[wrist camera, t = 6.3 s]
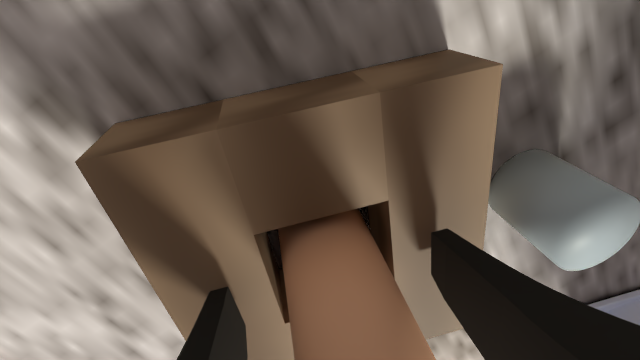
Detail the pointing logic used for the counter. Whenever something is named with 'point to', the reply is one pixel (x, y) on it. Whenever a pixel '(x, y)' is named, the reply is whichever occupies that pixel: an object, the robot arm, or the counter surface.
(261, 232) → the socket block
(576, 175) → the short peg
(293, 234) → the long peg
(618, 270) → the counter surface
